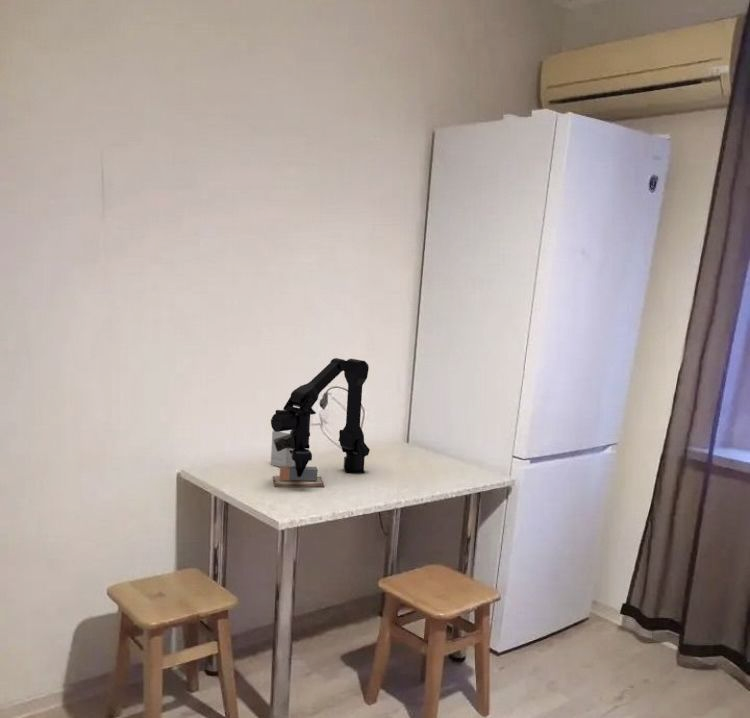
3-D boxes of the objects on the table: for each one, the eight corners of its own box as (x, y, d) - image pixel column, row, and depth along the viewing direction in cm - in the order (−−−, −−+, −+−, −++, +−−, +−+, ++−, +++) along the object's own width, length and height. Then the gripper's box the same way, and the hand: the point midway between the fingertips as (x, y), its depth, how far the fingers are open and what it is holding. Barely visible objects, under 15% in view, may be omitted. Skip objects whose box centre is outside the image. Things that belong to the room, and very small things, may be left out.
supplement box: (285, 468, 249) (286, 433, 248) (270, 464, 254) (271, 429, 252) (299, 465, 255) (301, 430, 254) (284, 461, 259) (286, 427, 258)
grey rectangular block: (315, 477, 237) (316, 466, 236) (317, 480, 233) (317, 469, 233) (279, 476, 235) (280, 465, 234) (280, 480, 231) (280, 468, 230)
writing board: (320, 477, 241) (320, 475, 241) (324, 487, 230) (324, 485, 230) (272, 477, 238) (272, 475, 238) (274, 487, 227) (274, 484, 227)
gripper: (274, 421, 240) (272, 467, 241) (277, 434, 221) (275, 483, 223) (307, 422, 242) (305, 467, 243) (313, 435, 223) (310, 483, 225)
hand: (298, 475), depth 234 cm, fingers closed on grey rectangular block, 4 cm apart
